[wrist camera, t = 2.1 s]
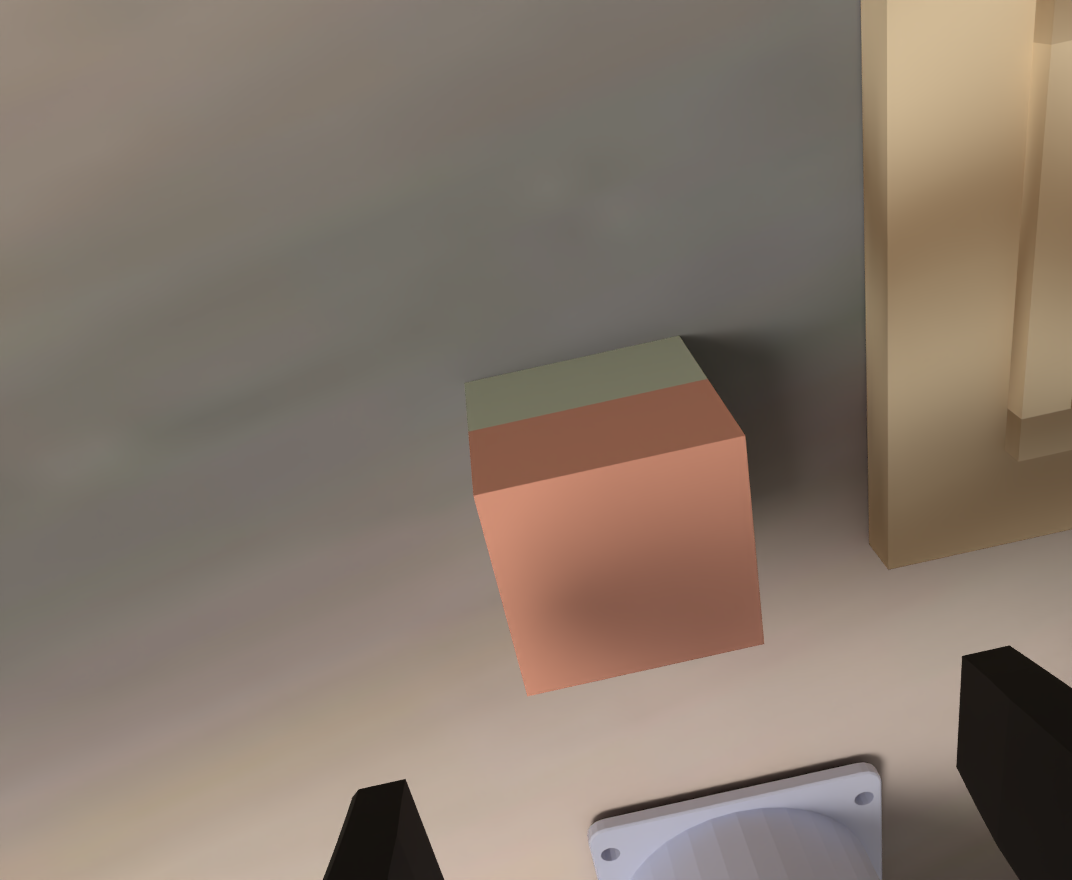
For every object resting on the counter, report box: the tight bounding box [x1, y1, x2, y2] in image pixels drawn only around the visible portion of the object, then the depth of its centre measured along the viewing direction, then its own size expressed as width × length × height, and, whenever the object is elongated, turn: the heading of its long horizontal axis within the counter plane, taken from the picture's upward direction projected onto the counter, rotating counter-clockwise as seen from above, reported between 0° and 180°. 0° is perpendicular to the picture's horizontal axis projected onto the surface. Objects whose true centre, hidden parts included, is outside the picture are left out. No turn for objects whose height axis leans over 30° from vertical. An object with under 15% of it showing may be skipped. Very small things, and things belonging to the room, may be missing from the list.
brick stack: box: [464, 336, 764, 696], centre depth 17 cm, size 4×4×4 cm
